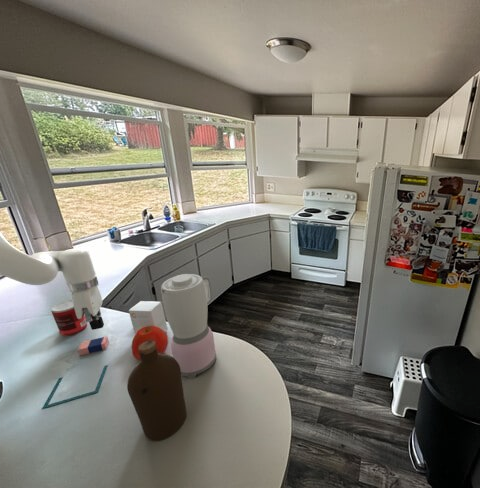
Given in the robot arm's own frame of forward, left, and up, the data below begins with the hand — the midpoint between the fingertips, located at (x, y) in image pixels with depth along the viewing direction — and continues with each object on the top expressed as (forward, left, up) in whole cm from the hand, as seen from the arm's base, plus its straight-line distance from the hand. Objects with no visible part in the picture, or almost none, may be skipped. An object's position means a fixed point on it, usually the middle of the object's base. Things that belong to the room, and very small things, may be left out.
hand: (98, 327), depth 92 cm
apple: (+18, -18, -4) cm, 26 cm away
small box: (+17, -7, -4) cm, 19 cm away
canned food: (-10, +9, -4) cm, 14 cm away
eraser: (0, -7, -4) cm, 8 cm away
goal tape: (0, -23, -4) cm, 23 cm away
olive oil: (+24, -47, -4) cm, 53 cm away
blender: (+33, -28, -4) cm, 43 cm away
